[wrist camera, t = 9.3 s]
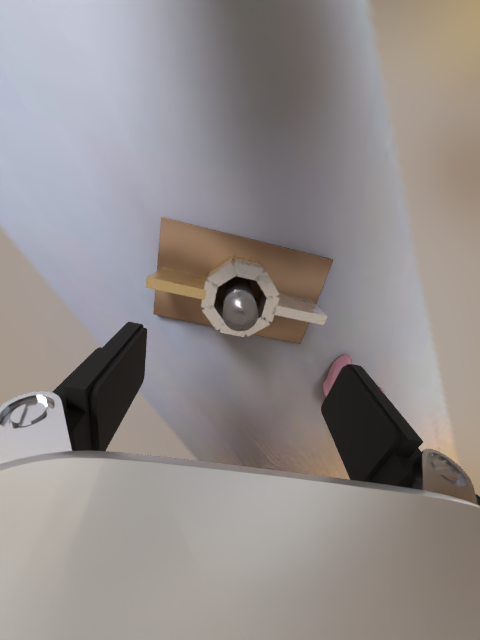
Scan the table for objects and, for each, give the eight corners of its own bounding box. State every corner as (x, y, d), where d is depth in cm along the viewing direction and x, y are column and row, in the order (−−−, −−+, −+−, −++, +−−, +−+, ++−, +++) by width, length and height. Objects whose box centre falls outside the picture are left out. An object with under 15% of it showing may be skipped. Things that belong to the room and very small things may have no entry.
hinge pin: (228, 272, 25) (226, 294, 18) (254, 279, 25) (262, 303, 18) (223, 297, 26) (219, 327, 19) (247, 302, 27) (253, 334, 19)
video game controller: (318, 359, 33) (315, 402, 28) (347, 349, 30) (349, 395, 25) (355, 394, 36) (358, 438, 31) (385, 388, 33) (394, 436, 28)
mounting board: (164, 217, 24) (161, 217, 23) (329, 258, 26) (333, 260, 25) (156, 311, 28) (153, 314, 27) (298, 340, 30) (300, 343, 29)
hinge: (165, 238, 24) (149, 242, 19) (321, 275, 25) (340, 286, 21) (160, 300, 26) (144, 317, 22) (300, 330, 28) (313, 351, 24)
